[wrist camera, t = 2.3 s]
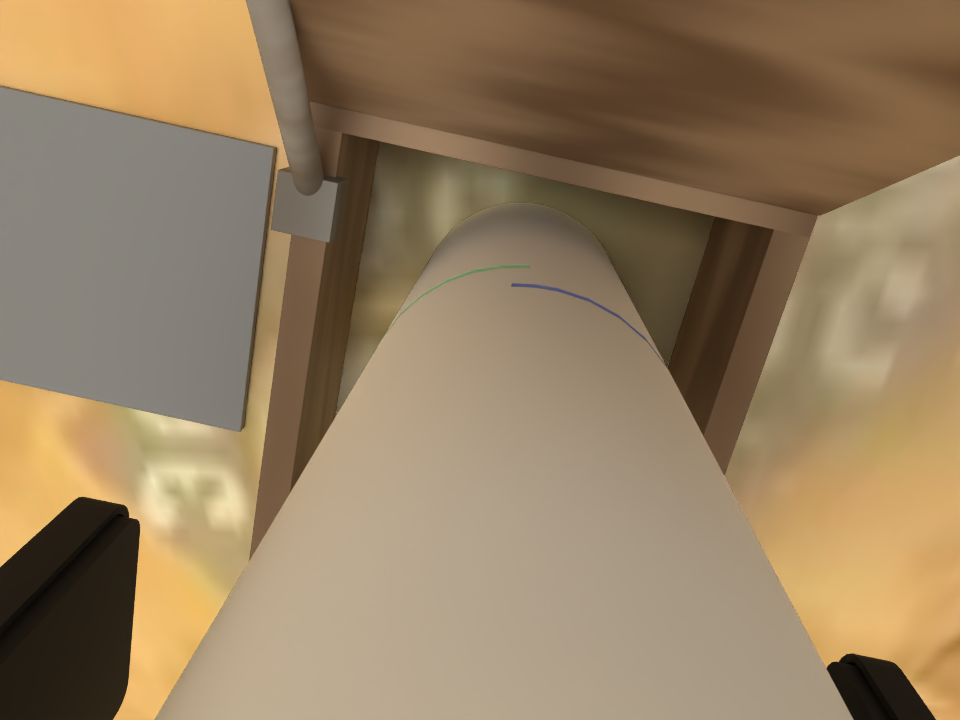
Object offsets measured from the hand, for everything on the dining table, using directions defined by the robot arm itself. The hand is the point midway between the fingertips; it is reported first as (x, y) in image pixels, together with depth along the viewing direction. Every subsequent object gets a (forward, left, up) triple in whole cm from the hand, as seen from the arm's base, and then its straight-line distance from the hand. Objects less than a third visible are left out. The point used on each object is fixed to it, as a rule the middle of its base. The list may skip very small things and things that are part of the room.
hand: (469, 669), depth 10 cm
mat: (+15, +2, -19) cm, 24 cm away
